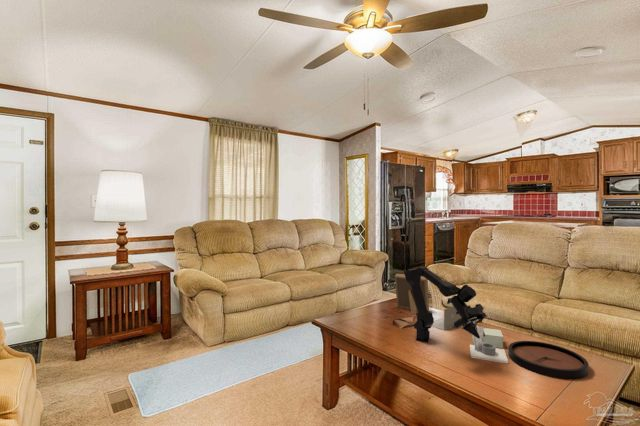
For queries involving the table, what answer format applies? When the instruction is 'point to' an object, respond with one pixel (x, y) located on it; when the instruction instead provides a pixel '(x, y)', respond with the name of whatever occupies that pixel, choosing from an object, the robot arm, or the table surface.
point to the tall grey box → (409, 293)
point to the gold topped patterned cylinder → (479, 328)
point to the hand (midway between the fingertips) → (481, 337)
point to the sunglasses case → (405, 322)
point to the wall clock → (548, 360)
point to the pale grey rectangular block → (447, 319)
